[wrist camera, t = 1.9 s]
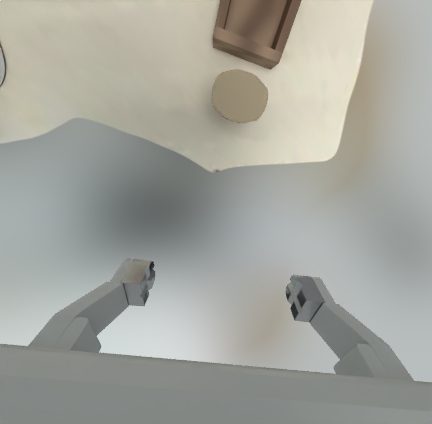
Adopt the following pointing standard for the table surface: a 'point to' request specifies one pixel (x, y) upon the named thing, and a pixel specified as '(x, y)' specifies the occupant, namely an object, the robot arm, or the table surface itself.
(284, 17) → the brown square open box
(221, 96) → the handle
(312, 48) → the table surface
